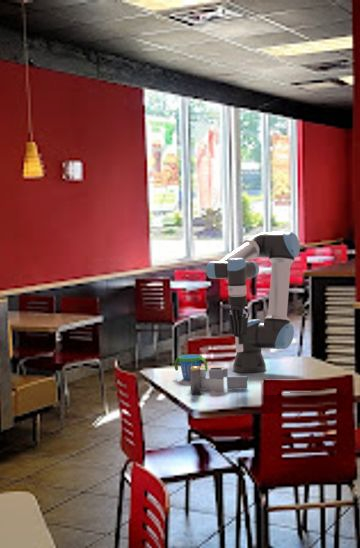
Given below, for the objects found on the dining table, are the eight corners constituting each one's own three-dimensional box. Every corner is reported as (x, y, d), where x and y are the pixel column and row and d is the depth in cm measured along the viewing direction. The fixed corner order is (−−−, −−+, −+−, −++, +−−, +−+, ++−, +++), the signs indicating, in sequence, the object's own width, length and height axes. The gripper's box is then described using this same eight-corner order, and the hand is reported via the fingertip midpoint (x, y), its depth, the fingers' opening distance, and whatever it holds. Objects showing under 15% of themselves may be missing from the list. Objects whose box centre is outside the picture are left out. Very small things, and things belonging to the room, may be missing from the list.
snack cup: (170, 379, 369) (169, 356, 368) (183, 375, 377) (182, 353, 377) (199, 382, 360) (198, 359, 359) (212, 378, 368) (211, 355, 368)
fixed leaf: (193, 388, 347) (192, 367, 347) (223, 388, 346) (223, 367, 346) (192, 391, 342) (191, 370, 341) (223, 391, 341) (222, 369, 340)
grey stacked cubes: (209, 390, 341) (208, 370, 340) (209, 387, 347) (209, 367, 346) (247, 389, 340) (246, 369, 339) (246, 386, 346) (246, 366, 345)
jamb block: (191, 387, 350) (190, 366, 349) (205, 387, 349) (205, 366, 349) (190, 389, 345) (190, 369, 344) (205, 389, 345) (204, 368, 344)
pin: (192, 393, 338) (191, 366, 337) (201, 393, 338) (200, 366, 337) (191, 395, 335) (190, 368, 334) (200, 395, 334) (199, 367, 334)
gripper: (221, 295, 346) (223, 350, 348) (239, 297, 335) (241, 355, 337) (235, 293, 350) (237, 348, 352) (254, 295, 339) (256, 352, 341)
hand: (239, 351), depth 345 cm, fingers closed
